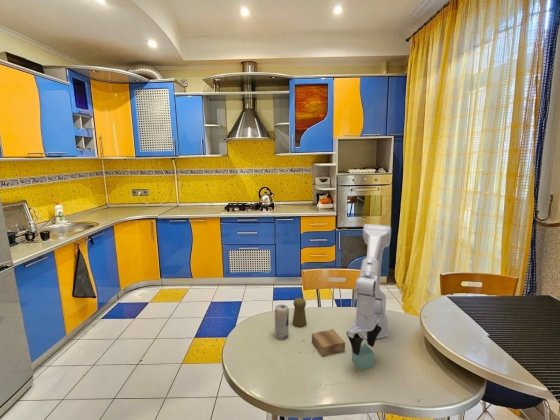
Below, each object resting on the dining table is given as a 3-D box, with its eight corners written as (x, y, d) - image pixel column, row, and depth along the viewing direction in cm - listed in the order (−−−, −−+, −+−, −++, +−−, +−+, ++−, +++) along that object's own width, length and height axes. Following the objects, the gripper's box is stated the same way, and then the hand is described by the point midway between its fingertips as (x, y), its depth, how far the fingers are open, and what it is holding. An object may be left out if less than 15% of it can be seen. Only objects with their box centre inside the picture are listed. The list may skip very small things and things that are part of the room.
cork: (305, 328, 125) (306, 303, 123) (291, 326, 126) (291, 302, 124) (307, 320, 131) (307, 296, 129) (293, 319, 132) (293, 295, 130)
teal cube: (364, 357, 107) (365, 343, 106) (373, 366, 102) (374, 352, 101) (351, 360, 105) (352, 346, 104) (360, 370, 100) (361, 356, 100)
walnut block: (332, 338, 118) (333, 329, 118) (344, 352, 110) (345, 342, 109) (311, 343, 116) (311, 333, 115) (322, 357, 107) (322, 347, 106)
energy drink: (290, 333, 121) (290, 305, 119) (286, 341, 116) (286, 312, 114) (277, 331, 123) (277, 303, 121) (272, 338, 118) (272, 309, 116)
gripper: (369, 301, 108) (367, 336, 110) (341, 313, 99) (339, 351, 102) (386, 309, 102) (384, 346, 104) (358, 323, 94) (356, 362, 96)
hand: (363, 349), depth 103 cm, fingers open, 7 cm apart
